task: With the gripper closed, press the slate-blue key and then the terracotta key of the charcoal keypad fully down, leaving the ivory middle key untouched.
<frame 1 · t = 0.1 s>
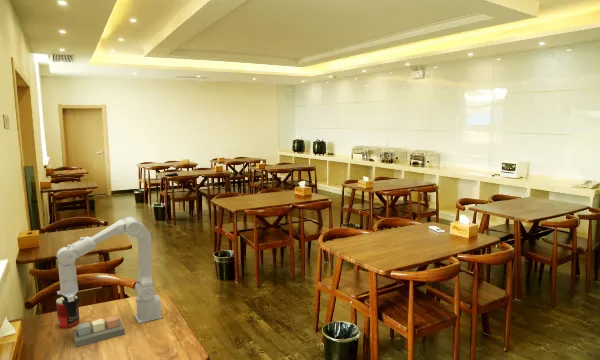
hand: (71, 312, 159), 10 cm above the table, fingers open, 7 cm apart
key slate: (83, 329, 158), point 4 cm above the table, slide at 0.0 cm
key ivory: (98, 325, 161), point 4 cm above the table, slide at 0.0 cm
keypad base: (98, 335, 162), on the table
key terracotta: (112, 322, 164), point 4 cm above the table, slide at 0.0 cm
canned food: (69, 324, 170), on the table
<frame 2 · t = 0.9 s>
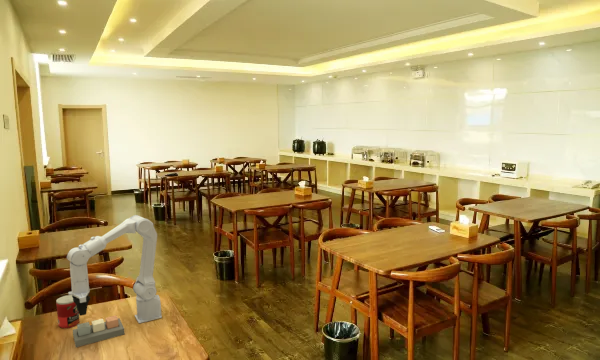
hand: (82, 313, 157), 10 cm above the table, fingers closed
nothing on the table moved.
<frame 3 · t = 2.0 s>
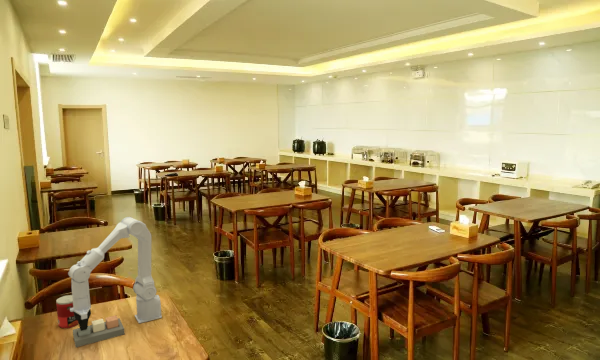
hand: (83, 329, 158), 4 cm above the table, fingers closed, pressing on key slate
key slate: (84, 332, 159), point 2 cm above the table, slide at 1.5 cm, touching gripper
everything else where it was.
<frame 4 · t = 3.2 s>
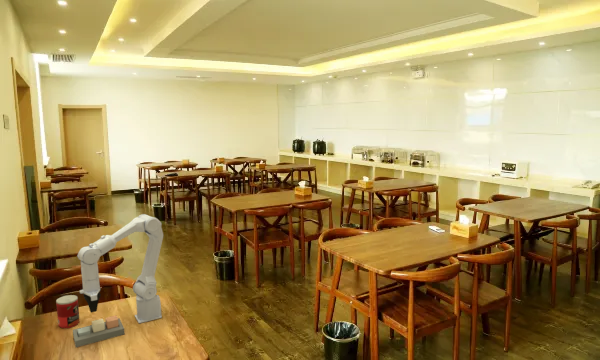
hand: (93, 311, 160), 10 cm above the table, fingers closed
key slate: (84, 333, 159), point 2 cm above the table, slide at 1.8 cm
everything else where it was.
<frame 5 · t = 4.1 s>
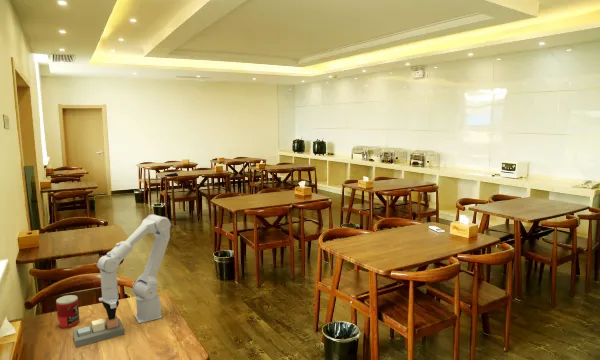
hand: (111, 318, 164), 5 cm above the table, fingers closed, pressing on key terracotta
key terracotta: (112, 322, 164), point 4 cm above the table, slide at 0.0 cm, touching gripper
everything else where it was.
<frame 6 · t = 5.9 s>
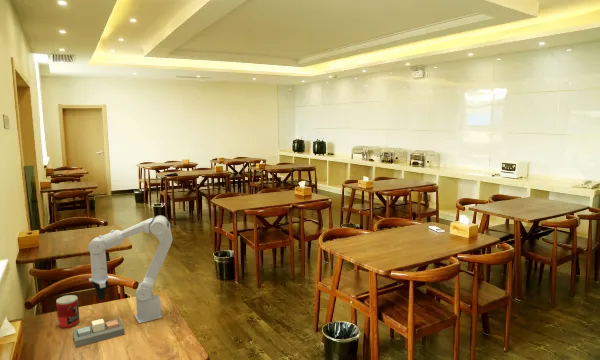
hand: (101, 298, 170), 10 cm above the table, fingers closed
key terracotta: (112, 326, 164), point 2 cm above the table, slide at 1.9 cm
everything else where it was.
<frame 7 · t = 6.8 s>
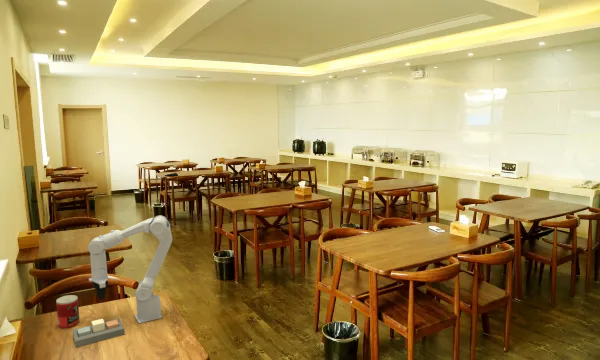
hand: (101, 298, 170), 10 cm above the table, fingers closed
nothing on the table moved.
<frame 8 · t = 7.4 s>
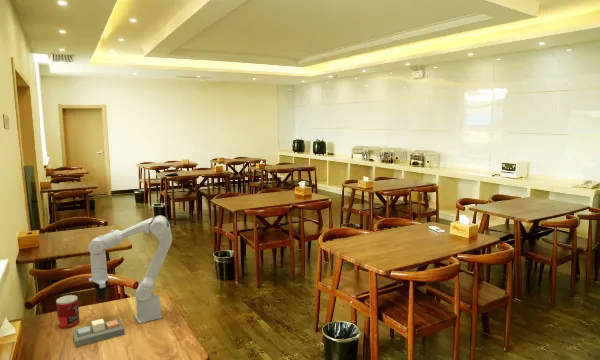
hand: (101, 298, 170), 10 cm above the table, fingers closed
nothing on the table moved.
at the end: key slate slide at 1.8 cm; key terracotta slide at 1.9 cm; key ivory slide at 0.0 cm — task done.
